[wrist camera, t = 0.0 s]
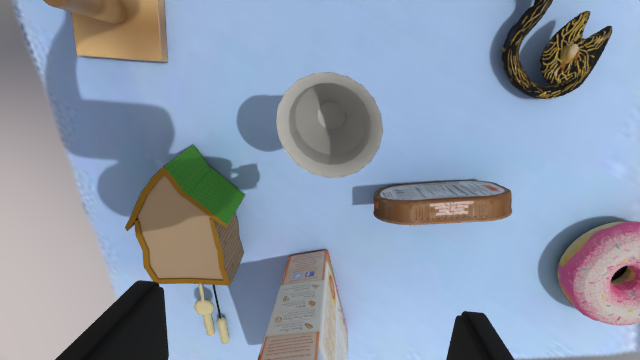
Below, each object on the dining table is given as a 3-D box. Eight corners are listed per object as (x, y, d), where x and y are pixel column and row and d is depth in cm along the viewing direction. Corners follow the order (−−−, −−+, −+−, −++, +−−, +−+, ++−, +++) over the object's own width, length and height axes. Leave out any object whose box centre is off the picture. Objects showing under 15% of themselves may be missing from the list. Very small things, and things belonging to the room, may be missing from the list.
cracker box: (286, 255, 45) (243, 392, 24) (328, 247, 44) (320, 383, 24) (308, 337, 48) (287, 516, 28) (348, 332, 48) (355, 511, 27)
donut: (600, 196, 40) (636, 211, 35) (683, 246, 41) (728, 267, 36) (528, 277, 44) (551, 301, 39) (606, 321, 45) (638, 350, 40)
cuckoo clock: (263, 322, 52) (238, 143, 40) (253, 367, 45) (219, 166, 33) (189, 322, 52) (143, 145, 40) (168, 367, 45) (104, 168, 33)
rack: (74, -40, 36) (-16, -83, 27) (162, -34, 36) (101, -76, 26) (86, 56, 39) (8, 47, 30) (168, 62, 38) (115, 54, 29)
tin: (370, 204, 42) (378, 232, 34) (369, 181, 41) (376, 204, 33) (490, 197, 41) (527, 224, 33) (491, 173, 40) (530, 195, 32)
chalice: (292, 112, 39) (255, 131, 22) (327, 65, 37) (318, 47, 20) (338, 150, 40) (338, 197, 23) (375, 106, 38) (405, 122, 21)
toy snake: (557, -123, 27) (667, -107, 28) (523, -96, 32) (619, -83, 32) (499, 94, 33) (591, 104, 34) (477, 91, 37) (559, 100, 38)
